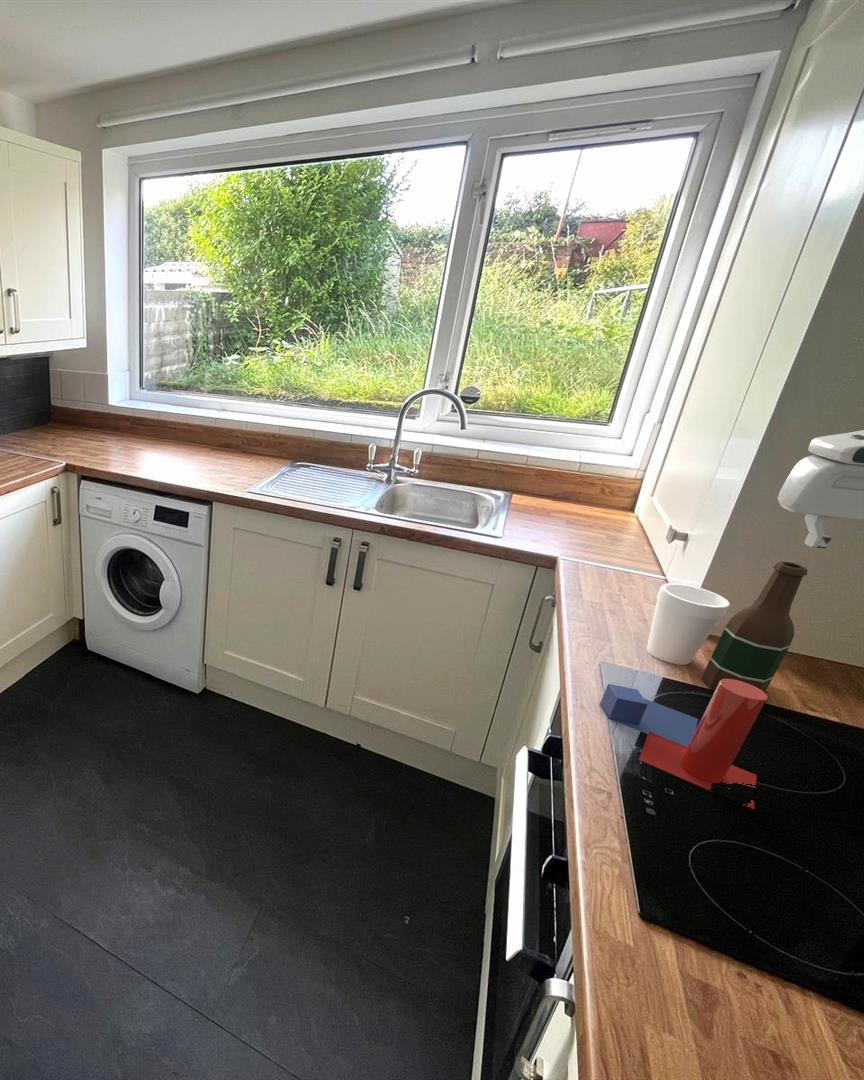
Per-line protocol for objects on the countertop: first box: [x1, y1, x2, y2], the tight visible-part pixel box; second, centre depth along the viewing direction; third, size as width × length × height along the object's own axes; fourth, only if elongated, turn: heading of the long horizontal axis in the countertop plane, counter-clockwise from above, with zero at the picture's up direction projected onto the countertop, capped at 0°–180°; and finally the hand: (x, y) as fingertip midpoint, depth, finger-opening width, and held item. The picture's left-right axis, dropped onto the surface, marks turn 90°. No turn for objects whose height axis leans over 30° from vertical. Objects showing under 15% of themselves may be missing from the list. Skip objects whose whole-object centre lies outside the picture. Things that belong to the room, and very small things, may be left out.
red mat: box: [638, 732, 757, 810], centre depth 83 cm, size 12×9×1 cm
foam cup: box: [646, 582, 731, 666], centre depth 108 cm, size 10×9×13 cm
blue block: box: [599, 683, 648, 725], centre depth 92 cm, size 4×4×4 cm
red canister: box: [680, 679, 768, 783], centre depth 79 cm, size 5×5×14 cm
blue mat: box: [610, 698, 699, 747], centre depth 92 cm, size 10×11×1 cm
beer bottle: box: [701, 561, 808, 694], centre depth 96 cm, size 8×8×24 cm
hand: (859, 552), depth 78 cm, fingers open, 8 cm apart
